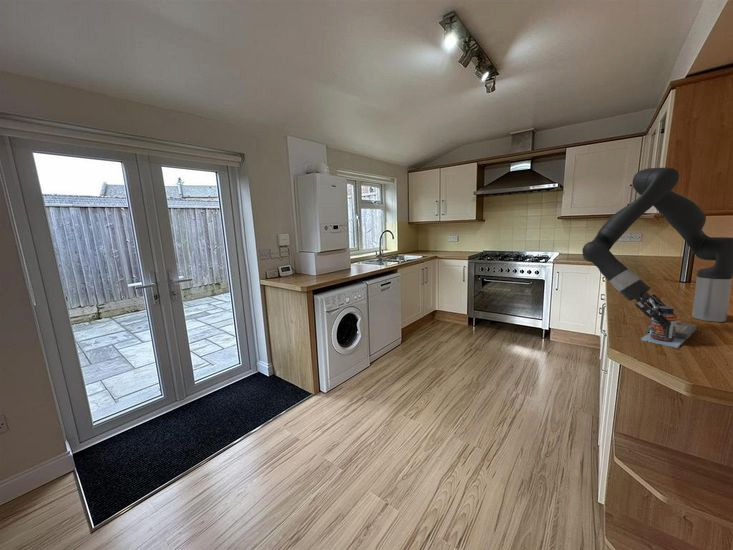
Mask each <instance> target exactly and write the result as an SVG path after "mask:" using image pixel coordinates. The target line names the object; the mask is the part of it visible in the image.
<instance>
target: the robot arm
mask: <svg viewBox="0 0 733 550" xmlns="http://www.w3.org/2000/svg"><path fill="white" fill-rule="evenodd" d="M679 180H680V174H679V171H678V170H677V169H676V168H673V167H651V168H649V167H648V168H643V169H641V170H639V171H638V172H636V173H635V174H634V176H633V178H632V187H633V189H634V191H635V192H637V194H638V195H639V196H638V197H637V199H634V201H632V202H630V203H629V204H628V205H626V206H625V207H623V208H621V209H620V210H618V211H617V212H615V213H614V214H612V216H611V217H610V218H609V219H607V221H606V222H605V223H604V224H603V226H601V228H600V229H599V230H598V232H597V234H596V236H595V237H594V238H593V240H592V241H589V242H586V243H585V244H584V246H583V247H582V252H581V253H582V258H583V259H584V260H585V261H586V262H588V263H592V264H593V265H594V266H595V267H596V268H597V269H598V271H599V273H601V274H602V275H603V277H604V278H605V279H606V280H608V281H609V283H610V284H611V285H612V286H613V287H614V288H615V289H616V290H617V291H618V292H619V294H621V295H622V296H623V298H625V299H626V300H627V301H629V302H632V301H634V300H635V301H636V303H634V305H635V306H636V307H637V308H638V309H639V310H640V311H641V312H642V313H643V314H645V316H647V317H648V318H649V319H652V318H653V319H654V318H655V319H656V320H657V321H658V322H659V323H660V324H661V325H662V326H663V327H668V326H670V325H671V323H670V322H669V321H668V320H667V319H666V318H665V317H664V316H663V315H661V313H660V312H659V311H658V307H657V306H667V305H666V304H665V303H664V302H663V301H662V300H661V299H660V298H659V297H658V296H657V295H656V294H652V295H650V294H649V291H651V287H650V286H649V285H648V284H647V283H646V282H645V281H644V280H643V279H641V278H640V277H639V276H638V275H637V274H636V273H635V272H633V271H631V270H630V269H629V268H628V267H627V266H625V265H624V264H623V263H622V262H621V261H619V260H618V259H617V258H616V256H615V255H614V253H612V252H611V251H610V250H611V249H612V247H613V246H614V244H616V243H617V241H619V239H621V237H623V235H624V234H625V233H626V232H627V231H628V230H629V228H630V227H632V225H634V223H635V222H636V221H637V220H638V219H639V218H640V217H641V216H643V215H644V214H645V213H646V212H648V211H649V209H651V208H653V207H654V208H655V209H656V211H657V212H658V213H659V214H661V216H662V217H663V218H664V219H665V220H666V221H667V222H668V223H669V225H670V226H671V227H672V228H673V229H674V230H675V231H676V232H677V233H678V234H679V235H680V236H681V237H682V239H683V240H684V241H685V242H686V244H687V245H688V247H689V248H690V250H691V251H692V253H693V254H694V256H696V257H697V258H698V259H701V260H703V261H715V262H714V265H712V266H710V267H705V268H701V269H698V270H697V273H696V283H695V291H694V297H693V303H692V304H693V305H692V312H691V317H692V318H694V319H696V320H700V321H707V322H715V323H716V322H717V323H720V322H721V323H722V322H727V317H728V310H729V305H730V304H729V303H730V296H731V289H732V284H733V283H732V282H733V237H728V236H727V237H723V236H721V237H720V236H719V237H718V236H717V237H716V236H713V237H712V236H709V235H707V234H705V232H704V231H703V229H704V226H705V224H706V220H707V215H706V214H705V212H704V210H702V209H701V207H700V206H699V205H698V204H696V203H695V202H694V201H693V200H691V199H689V198H687V197H685V196H683V195H682V194H679V193H677V192H674V191H672V190H673V189H674V188H675V187H676V185H678V182H679ZM676 321H678V319H677V320H676Z"/></svg>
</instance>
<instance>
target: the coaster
mask: <svg viewBox="0 0 733 550" xmlns="http://www.w3.org/2000/svg"><path fill="white" fill-rule="evenodd" d="M640 341H641V342H647V341H648V343H651V342H652V344H656V345H660V344H661V346H665V347H671V348H675V349H679V348H680V345H681V344H682V343H683V342H684V341H686V340H683V339H678V338H674V340H673V341H661V340H657V339H654V338H652V337H651V336H650V333H647V334H646V335H644V336H643V337H641V338H640ZM684 343H685V342H684ZM684 343H683V344H684ZM683 344H682V345H683ZM682 345H681V346H682Z"/></svg>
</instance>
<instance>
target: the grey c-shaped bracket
mask: <svg viewBox="0 0 733 550" xmlns="http://www.w3.org/2000/svg"><path fill="white" fill-rule="evenodd" d="M675 329H677V330H682V331H677V330H675V337H674V338H678V339H683V340H685V341H687V340H688V339H689V338H690V337H691V336H692V335H693V334H694V333H695V332H696V331H697V324H694V323H693V324H692V323H689V322H688V323H687V322H682V321H681V320H677V321H676V328H675ZM695 330H696V331H695ZM650 331H651V325H648V326H647V327H646V333H647V332H650ZM694 331H695V332H694ZM693 332H694V333H693ZM692 333H693V334H692ZM691 334H692V335H691ZM686 339H687V340H686Z"/></svg>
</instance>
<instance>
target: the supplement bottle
mask: <svg viewBox="0 0 733 550" xmlns="http://www.w3.org/2000/svg"><path fill="white" fill-rule="evenodd" d="M657 307H658V311H659V312H660V313H661V315H663V316H664V317H665V318H666V319H667V320H668V321H669V322H670V323H671V325H670V326H668V327H663V326H662V325H661V324H660V323H659V322H658V321H657V320H656V319H655V318H654V319H653V318H651V321H650V322H651V323H650V324H651V325H650V326H651V331H650V336H651V337H652V338H654V339H657V340H661V341H673V340H674V337H675V328H676V320H677V321H678V319H677V318H678V316H677V314H675V312H674V309H675V308H674V307H672V306H670V305H669V306H668V305H666V306H657Z"/></svg>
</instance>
